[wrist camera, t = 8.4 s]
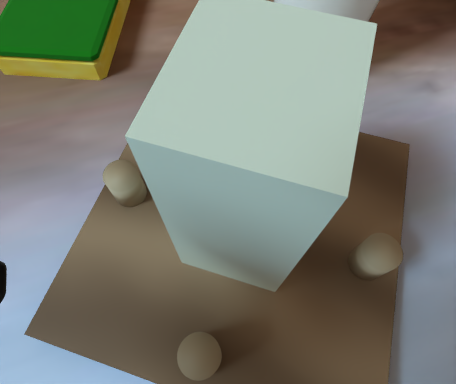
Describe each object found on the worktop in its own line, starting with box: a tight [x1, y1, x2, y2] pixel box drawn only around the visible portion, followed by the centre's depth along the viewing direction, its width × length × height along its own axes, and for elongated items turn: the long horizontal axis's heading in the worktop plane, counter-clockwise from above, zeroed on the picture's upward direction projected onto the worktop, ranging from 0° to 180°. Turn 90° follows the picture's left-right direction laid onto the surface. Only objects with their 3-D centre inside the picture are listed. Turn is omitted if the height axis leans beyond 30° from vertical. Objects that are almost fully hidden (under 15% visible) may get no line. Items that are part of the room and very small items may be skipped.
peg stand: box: [25, 132, 409, 384], centre depth 16 cm, size 15×15×3 cm
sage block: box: [125, 0, 377, 292], centre depth 12 cm, size 5×4×10 cm
